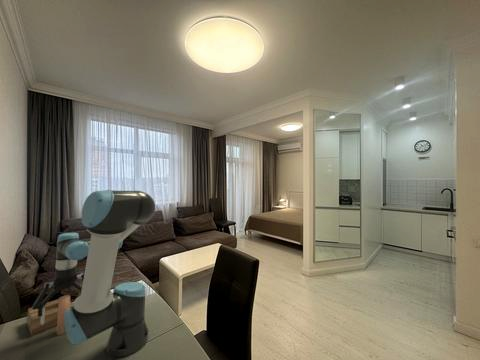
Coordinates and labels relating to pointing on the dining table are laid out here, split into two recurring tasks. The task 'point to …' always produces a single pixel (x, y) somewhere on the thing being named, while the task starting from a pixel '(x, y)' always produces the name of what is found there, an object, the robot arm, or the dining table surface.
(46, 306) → the socket block
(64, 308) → the peg
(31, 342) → the dining table surface
